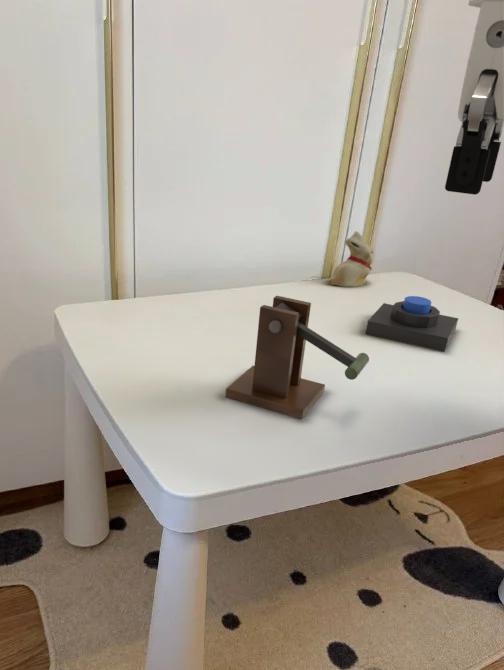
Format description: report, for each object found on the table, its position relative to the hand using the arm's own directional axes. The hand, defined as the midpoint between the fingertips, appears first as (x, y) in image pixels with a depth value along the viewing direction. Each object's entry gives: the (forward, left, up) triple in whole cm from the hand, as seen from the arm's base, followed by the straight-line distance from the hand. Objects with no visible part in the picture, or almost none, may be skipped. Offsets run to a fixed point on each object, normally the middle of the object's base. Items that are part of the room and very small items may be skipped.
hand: (468, 185), depth 65 cm
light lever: (+12, +6, -19) cm, 23 cm away
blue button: (+6, -26, -23) cm, 35 cm away
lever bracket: (+16, +6, -26) cm, 31 cm away
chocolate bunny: (+22, -45, -26) cm, 57 cm away
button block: (+6, -26, -26) cm, 37 cm away
